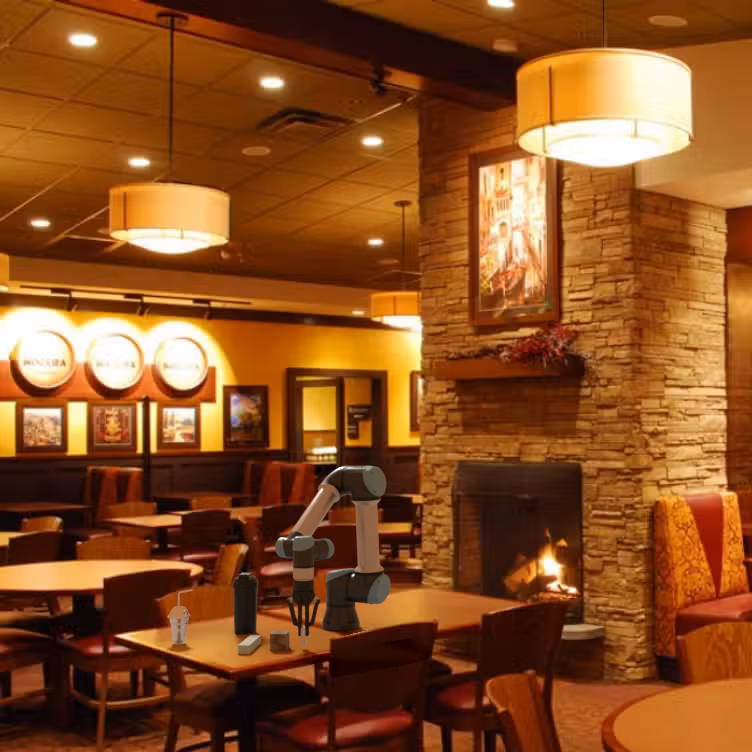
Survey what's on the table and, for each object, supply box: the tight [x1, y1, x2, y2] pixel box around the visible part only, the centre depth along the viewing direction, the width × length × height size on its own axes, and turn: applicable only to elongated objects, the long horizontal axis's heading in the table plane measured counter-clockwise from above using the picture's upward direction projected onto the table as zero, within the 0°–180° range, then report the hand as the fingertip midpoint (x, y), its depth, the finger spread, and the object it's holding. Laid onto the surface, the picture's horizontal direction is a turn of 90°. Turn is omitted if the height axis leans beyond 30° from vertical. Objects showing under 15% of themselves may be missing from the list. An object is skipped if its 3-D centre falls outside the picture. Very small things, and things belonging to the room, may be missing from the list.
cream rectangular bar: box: [237, 634, 262, 655], centre depth 404 cm, size 4×20×3 cm, turn 174°
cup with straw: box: [167, 588, 194, 646], centre depth 415 cm, size 8×9×20 cm
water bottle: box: [231, 572, 259, 635], centre depth 437 cm, size 10×10×23 cm
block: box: [269, 630, 290, 652], centre depth 403 cm, size 6×6×6 cm
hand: (303, 645), depth 402 cm, fingers closed
